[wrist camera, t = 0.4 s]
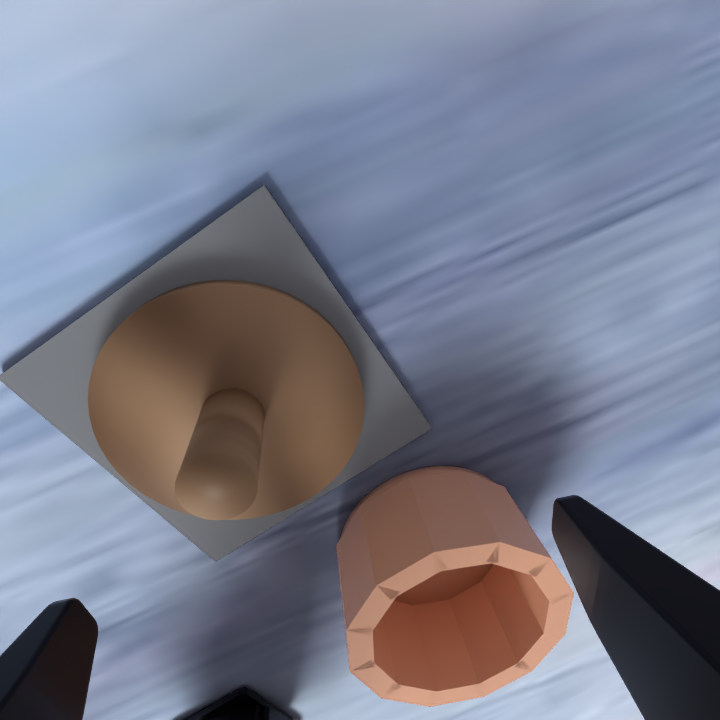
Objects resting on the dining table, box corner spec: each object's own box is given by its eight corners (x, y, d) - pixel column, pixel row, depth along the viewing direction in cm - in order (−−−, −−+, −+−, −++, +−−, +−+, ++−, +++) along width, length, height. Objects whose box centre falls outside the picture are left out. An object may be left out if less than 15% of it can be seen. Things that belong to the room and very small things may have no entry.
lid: (218, 541, 24) (197, 651, 19) (34, 381, 20) (-65, 466, 14) (406, 425, 23) (441, 506, 18) (258, 222, 18) (245, 248, 13)
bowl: (396, 627, 30) (419, 730, 25) (298, 529, 26) (300, 629, 20) (541, 545, 29) (600, 634, 23) (465, 427, 24) (516, 504, 19)
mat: (216, 556, 25) (215, 561, 25) (2, 373, 20) (-4, 377, 19) (429, 424, 24) (431, 428, 23) (264, 184, 18) (263, 185, 18)
